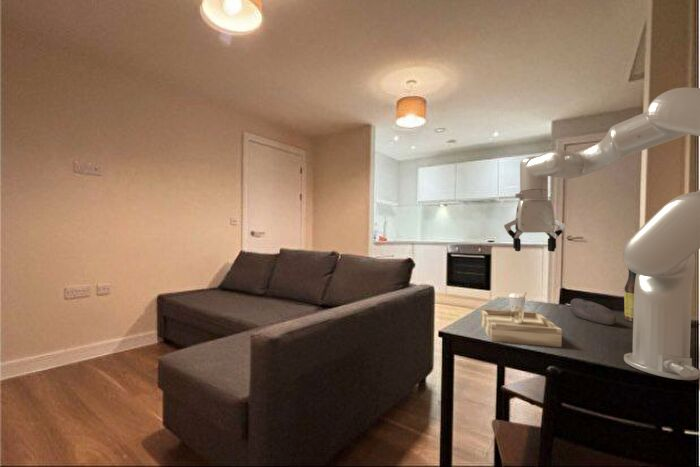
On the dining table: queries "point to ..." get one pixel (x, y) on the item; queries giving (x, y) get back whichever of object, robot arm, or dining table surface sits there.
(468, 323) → the dining table surface
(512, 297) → the milkshake
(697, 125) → the robot arm
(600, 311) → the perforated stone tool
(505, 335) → the wooden tray
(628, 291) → the sauce bottle
